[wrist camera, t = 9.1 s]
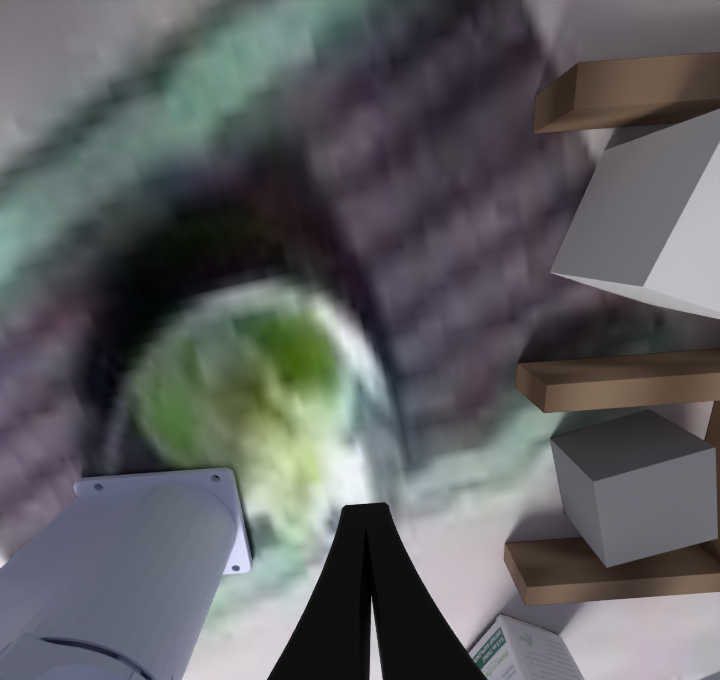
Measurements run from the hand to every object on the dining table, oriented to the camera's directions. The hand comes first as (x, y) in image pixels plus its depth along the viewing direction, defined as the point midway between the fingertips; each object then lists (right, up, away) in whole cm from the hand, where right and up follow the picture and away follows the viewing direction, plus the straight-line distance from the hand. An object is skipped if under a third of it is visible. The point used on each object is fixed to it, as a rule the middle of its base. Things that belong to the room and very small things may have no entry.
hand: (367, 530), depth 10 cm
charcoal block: (+15, -2, +11) cm, 19 cm away
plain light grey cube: (+13, +11, +7) cm, 19 cm away
